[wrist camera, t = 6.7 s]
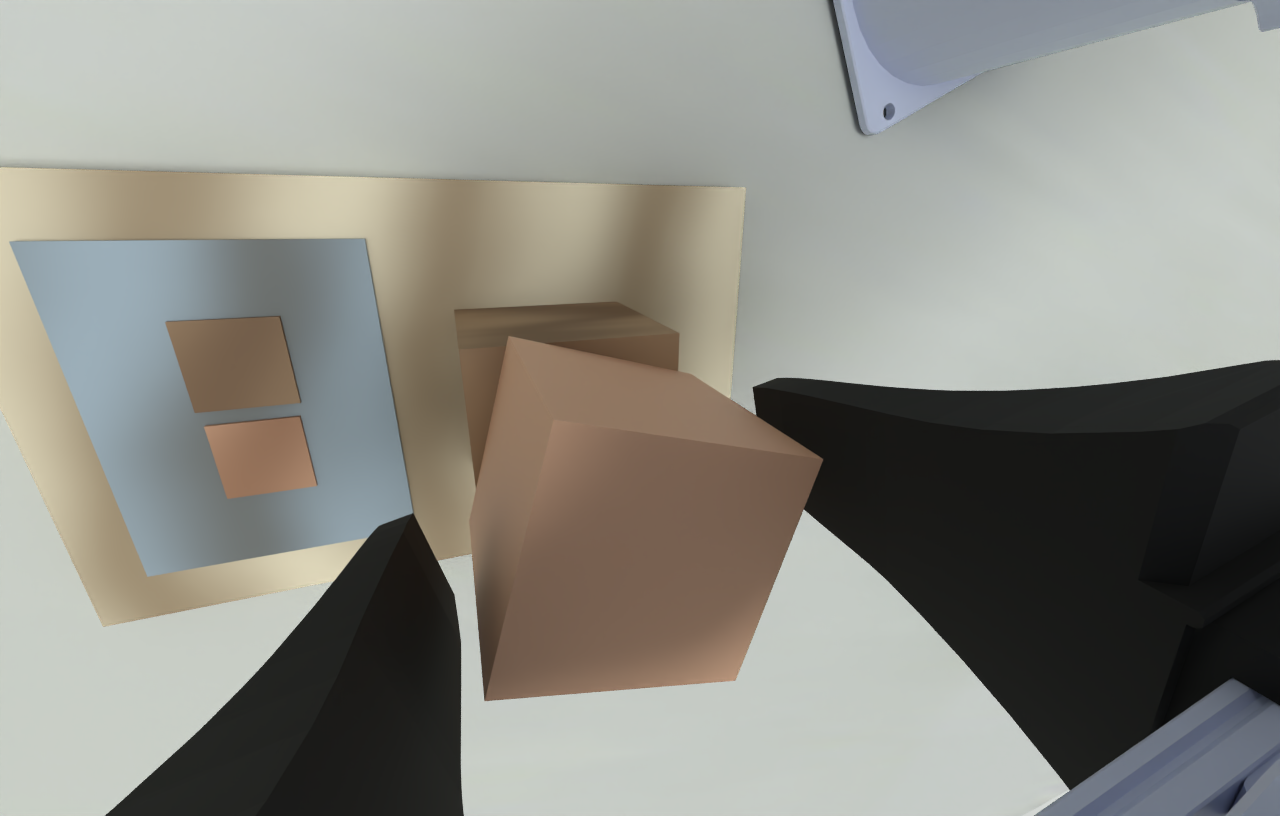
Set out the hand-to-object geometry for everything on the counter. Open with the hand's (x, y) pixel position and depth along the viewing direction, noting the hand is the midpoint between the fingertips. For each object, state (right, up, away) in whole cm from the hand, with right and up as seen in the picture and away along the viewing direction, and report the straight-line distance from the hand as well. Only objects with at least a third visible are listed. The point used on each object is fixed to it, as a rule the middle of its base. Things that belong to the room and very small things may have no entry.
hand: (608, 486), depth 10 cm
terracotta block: (-1, +1, +2) cm, 2 cm away
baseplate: (-6, +2, +6) cm, 9 cm away
